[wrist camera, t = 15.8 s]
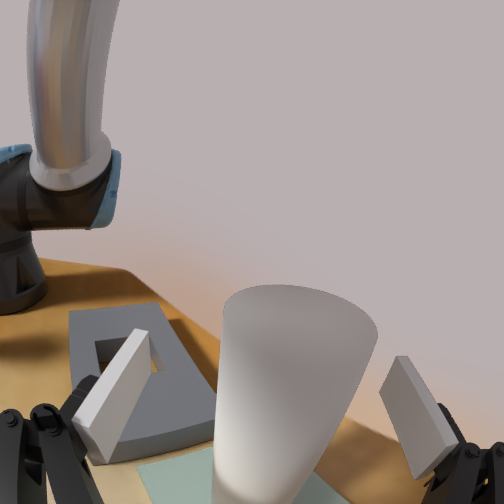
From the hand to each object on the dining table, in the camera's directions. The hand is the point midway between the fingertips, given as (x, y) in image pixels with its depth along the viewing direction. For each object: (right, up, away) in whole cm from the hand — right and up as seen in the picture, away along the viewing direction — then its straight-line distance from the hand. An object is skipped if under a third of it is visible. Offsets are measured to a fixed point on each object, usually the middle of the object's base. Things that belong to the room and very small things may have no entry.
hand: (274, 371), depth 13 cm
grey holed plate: (-14, -7, +12) cm, 19 cm away
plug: (-1, -11, 0) cm, 11 cm away
